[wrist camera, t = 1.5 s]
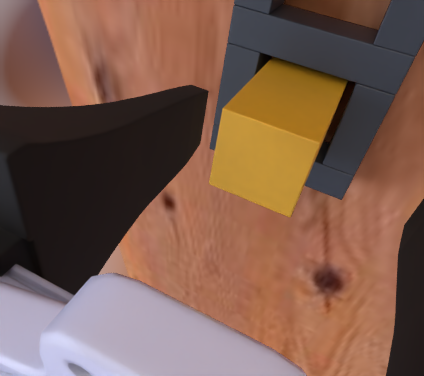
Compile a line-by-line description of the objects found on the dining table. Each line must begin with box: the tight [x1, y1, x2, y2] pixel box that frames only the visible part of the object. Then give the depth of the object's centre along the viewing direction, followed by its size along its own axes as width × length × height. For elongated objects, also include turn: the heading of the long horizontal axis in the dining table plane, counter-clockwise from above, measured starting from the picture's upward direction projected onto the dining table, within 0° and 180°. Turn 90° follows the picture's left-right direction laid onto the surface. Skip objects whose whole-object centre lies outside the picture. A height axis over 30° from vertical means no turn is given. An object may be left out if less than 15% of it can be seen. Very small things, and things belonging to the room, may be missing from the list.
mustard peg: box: [209, 57, 348, 217], centre depth 18 cm, size 4×4×8 cm
